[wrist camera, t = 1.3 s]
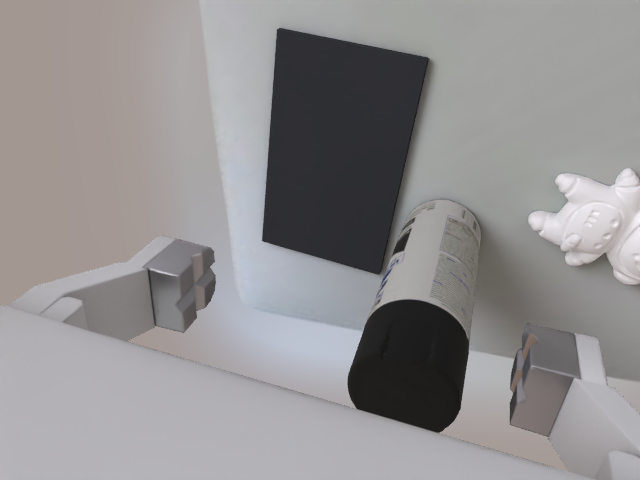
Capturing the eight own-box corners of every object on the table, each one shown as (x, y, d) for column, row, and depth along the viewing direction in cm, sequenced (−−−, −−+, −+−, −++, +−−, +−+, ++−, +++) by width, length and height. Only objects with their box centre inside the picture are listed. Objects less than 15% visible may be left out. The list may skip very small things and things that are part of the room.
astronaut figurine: (582, 140, 39) (586, 155, 37) (729, 220, 39) (743, 240, 36) (512, 228, 44) (512, 246, 42) (642, 299, 44) (649, 321, 41)
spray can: (407, 191, 46) (343, 342, 29) (489, 202, 44) (469, 368, 28) (401, 257, 49) (341, 424, 33) (477, 269, 47) (453, 453, 31)
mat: (279, 27, 42) (276, 29, 42) (428, 57, 40) (427, 59, 39) (264, 238, 53) (261, 241, 53) (380, 271, 51) (379, 275, 50)
